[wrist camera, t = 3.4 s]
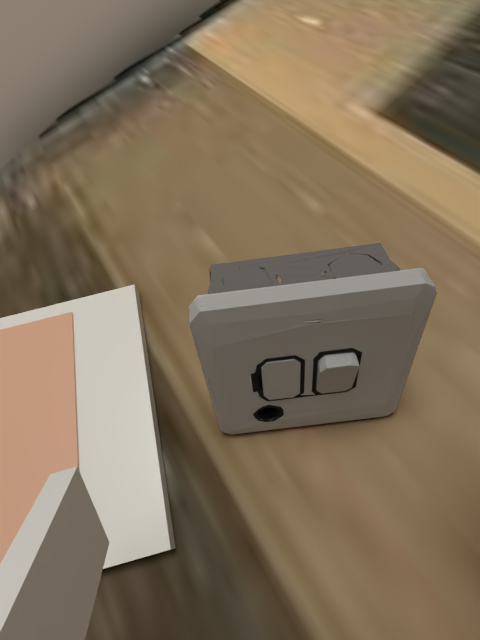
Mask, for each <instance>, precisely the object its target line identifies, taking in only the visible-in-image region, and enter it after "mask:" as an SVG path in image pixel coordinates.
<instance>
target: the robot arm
mask: <svg viewBox="0 0 480 640" xmlns="http://www.w3.org/2000/svg"><path fill="white" fill-rule="evenodd" d="M109 543H110V542H109V540H108V538H107V535H106V533H105V530H104V528H103V526H102V523H101V521H100V519H99V516H98V514H97V512H96V509H95V507H94V505H93V502H92V500H91V497H90V495H89V493H88V490H87V488H86V486H85V483H84V481H83V479H82V476H81V474H80V471H79V469H78V467H74V468H70V469H67V470H63V471H60V472H56V473H53V474H50V476H49V477H48V479H47V481H46V483H45V485H44V486H43V488H42V490H41V492H40V494H39V495H38V497H37V499H36V501H35V503H34V504H33V506H32V508H31V510H30V511H29V513H28V515H27V517H26V519H25V520H24V522H23V524H22V526H21V528H20V529H19V531H18V533H17V535H16V537H15V538H14V540H13V542H12V544H11V546H10V547H9V549H8V551H7V553H6V554H5V556H4V558H3V560H2V562H1V563H0V640H85V637H86V633H87V629H88V625H89V621H90V617H91V613H92V609H93V605H94V602H95V598H96V594H97V590H98V586H99V582H100V578H101V574H102V570H103V566H104V562H105V558H106V554H107V550H108V547H109Z"/></svg>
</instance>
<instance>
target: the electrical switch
mask: <svg viewBox="0 0 480 640" xmlns="http://www.w3.org/2000/svg"><path fill="white" fill-rule="evenodd" d="M346 253H348V254H346ZM370 257H371V258H370ZM372 258H373V259H374V260H373V259H372ZM329 266H330V268H329ZM236 268H239V269H237V270H235V269H236ZM321 271H322V272H323V274H324V276H323V275H321ZM276 276H278V277H279V278H280V279H281V280H282V282H281V285H279V282H278V279H277V277H276ZM210 281H211V284H210V287H209V290H208V294H207V295H199V296H197V297H196V299H195V300H194V301H193V302H192V303H191V305H190V306H189V307H188V310H189V324H190V328H191V331H192V335H193V338H194V342H195V345H196V349H197V352H198V356H199V359H200V363H201V366H202V370H203V373H204V377H205V380H206V384H207V387H208V391H209V394H210V398H211V401H212V405H213V408H214V412H215V415H216V419H217V422H218V426H219V429H220V431H222V432H225V433H228V434H240V433H249V432H257V431H265V430H274V429H282V428H291V427H299V426H307V425H316V424H324V423H333V422H341V421H350V420H358V419H366V418H375V417H383V416H387V415H389V414H391V413H392V412H394V411H395V410H397V406H398V403H399V400H400V397H401V394H402V391H403V388H404V386H405V383H406V380H407V377H408V374H409V371H410V368H411V365H412V363H413V360H414V357H415V354H416V351H417V348H418V345H419V342H420V340H421V337H422V334H423V331H424V328H425V325H426V322H427V319H428V317H429V314H430V311H431V308H432V305H433V302H434V299H435V296H436V294H437V293H436V289H435V286H434V284H433V283H432V281H431V279H430V277H429V276H428V274H427V273H426V271H425V269H424V268H418V269H409V270H401V271H400V269H399V267H398V266H397V265H395V264H394V263H393V262H392V261H390V259H389V257H388V256H387V254H386V252H385V250H384V249H383V247H382V245H381V244H380V243H377V244H369V245H361V246H354V247H346V248H338V249H331V250H323V251H315V252H307V253H300V254H292V255H284V256H277V257H269V258H261V259H253V260H246V261H238V262H230V263H223V264H215V265H211V272H210Z"/></svg>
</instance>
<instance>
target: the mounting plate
mask: <svg viewBox="0 0 480 640" xmlns="http://www.w3.org/2000/svg"><path fill="white" fill-rule="evenodd" d="M74 467H78V469H79V471H80V474H81V476H82V479H83V481H84V483H85V486H86V488H87V490H88V493H89V495H90V497H91V500H92V502H93V505H94V507H95V509H96V512H97V514H98V516H99V519H100V521H101V523H102V526H103V528H104V530H105V533H106V535H107V538H108V540H109V542H110V543H109V547H108V550H107V554H106V558H105V562H104V566H103V569H105V568H108V567H112V566H115V565H119V564H122V563H126V562H129V561H133V560H136V559H140V558H143V557H147V556H150V555H154V554H157V553H161V552H164V551H168V550H171V549H175V548H176V547H175V540H174V533H173V526H172V519H171V512H170V505H169V498H168V491H167V484H166V477H165V470H164V463H163V456H162V449H161V442H160V435H159V428H158V421H157V414H156V407H155V400H154V393H153V386H152V379H151V372H150V365H149V358H148V351H147V344H146V338H145V331H144V324H143V317H142V310H141V303H140V296H139V292H138V290H137V289H136V287H135V285H131V286H127V287H123V288H119V289H115V290H111V291H107V292H103V293H99V294H95V295H91V296H87V297H83V298H79V299H75V300H71V301H67V302H63V303H59V304H55V305H51V306H47V307H43V308H39V309H35V310H32V311H28V312H24V313H20V314H16V315H12V316H8V317H4V318H0V563H1V562H2V560H3V558H4V556H5V554H6V553H7V551H8V549H9V547H10V546H11V544H12V542H13V540H14V538H15V537H16V535H17V533H18V531H19V529H20V528H21V526H22V524H23V522H24V520H25V519H26V517H27V515H28V513H29V511H30V510H31V508H32V506H33V504H34V503H35V501H36V499H37V497H38V495H39V494H40V492H41V490H42V488H43V486H44V485H45V483H46V481H47V479H48V477H49V476H50V474H53V473H56V472H60V471H63V470H67V469H70V468H74Z"/></svg>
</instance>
